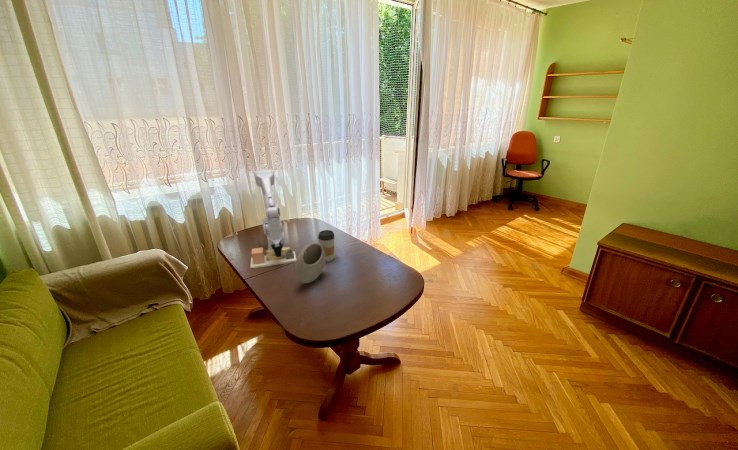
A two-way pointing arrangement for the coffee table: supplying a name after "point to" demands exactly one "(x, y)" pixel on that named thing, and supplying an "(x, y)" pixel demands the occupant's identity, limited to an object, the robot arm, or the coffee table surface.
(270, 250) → the slat
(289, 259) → the cap board
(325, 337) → the coffee table surface
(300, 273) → the planter
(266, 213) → the robot arm
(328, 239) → the coffee cup
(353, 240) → the coffee table surface
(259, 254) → the sliding end cap
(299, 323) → the coffee table surface
